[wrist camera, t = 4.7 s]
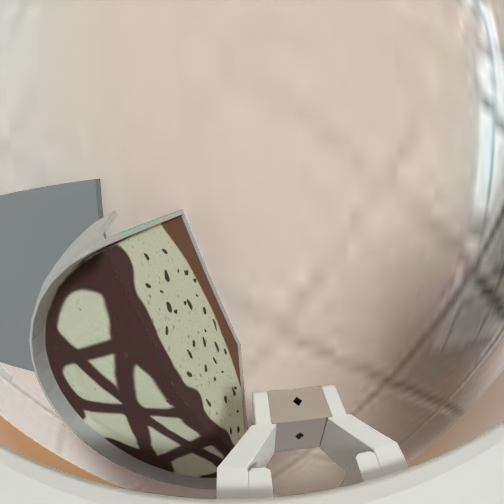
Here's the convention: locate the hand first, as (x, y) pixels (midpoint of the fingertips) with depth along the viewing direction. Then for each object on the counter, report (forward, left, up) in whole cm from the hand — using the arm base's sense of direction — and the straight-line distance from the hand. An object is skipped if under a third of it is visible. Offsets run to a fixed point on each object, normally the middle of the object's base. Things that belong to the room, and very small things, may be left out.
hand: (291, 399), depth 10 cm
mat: (+18, 0, -8) cm, 20 cm away
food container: (+6, 0, -9) cm, 11 cm away
